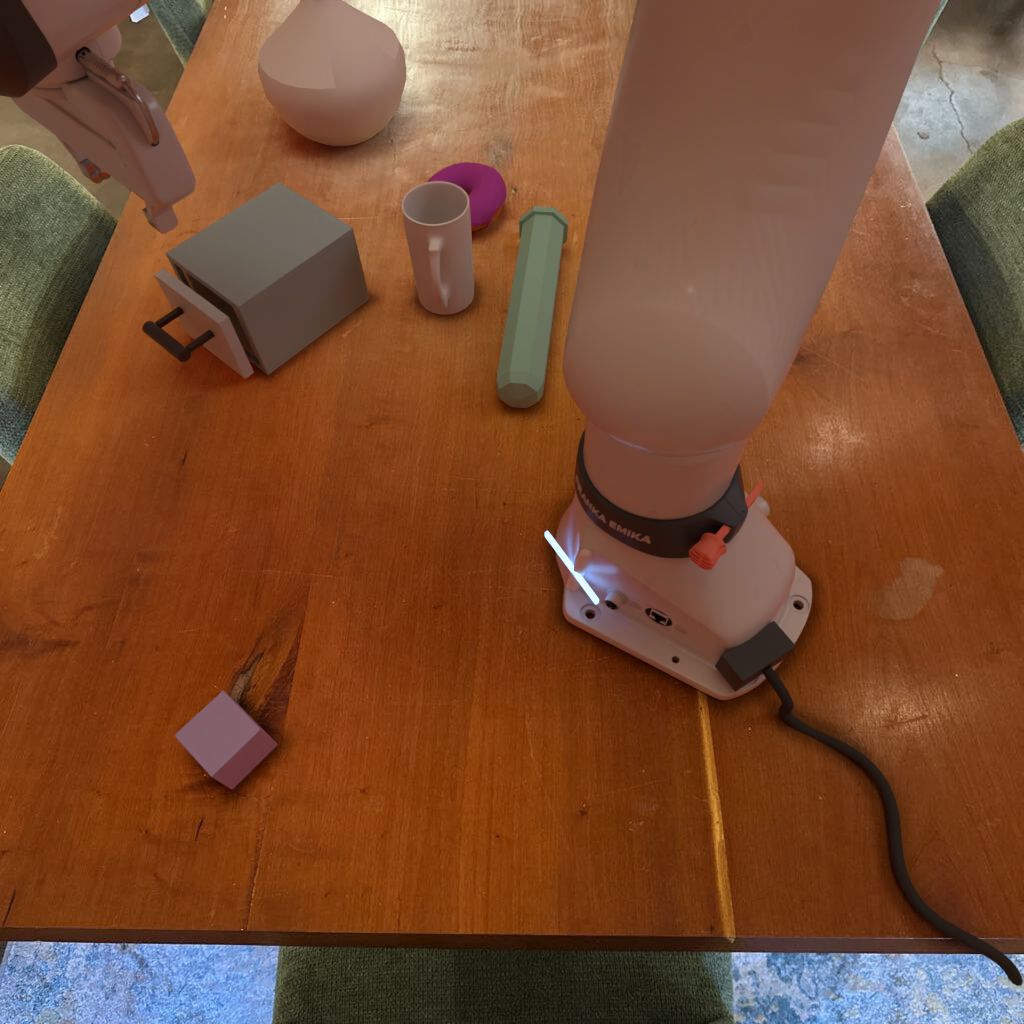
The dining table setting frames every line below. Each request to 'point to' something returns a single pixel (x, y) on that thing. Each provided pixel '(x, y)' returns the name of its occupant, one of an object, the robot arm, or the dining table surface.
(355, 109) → the vase
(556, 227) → the container
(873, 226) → the dining table surface
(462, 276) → the mug
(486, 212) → the donut
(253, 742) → the mauve cube
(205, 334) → the drawer
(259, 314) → the cabinet
